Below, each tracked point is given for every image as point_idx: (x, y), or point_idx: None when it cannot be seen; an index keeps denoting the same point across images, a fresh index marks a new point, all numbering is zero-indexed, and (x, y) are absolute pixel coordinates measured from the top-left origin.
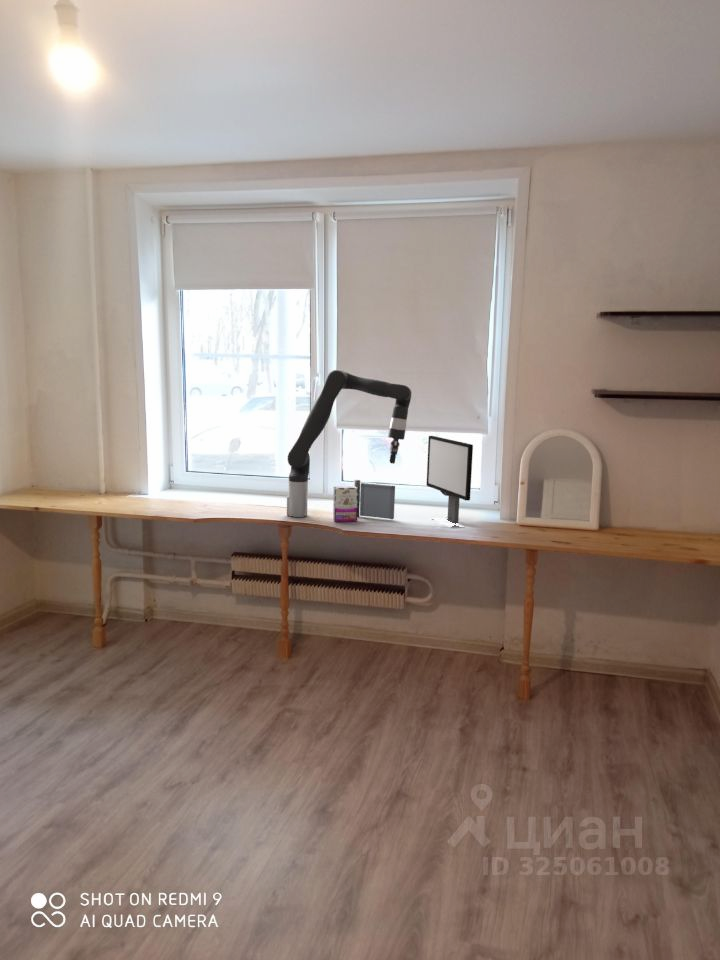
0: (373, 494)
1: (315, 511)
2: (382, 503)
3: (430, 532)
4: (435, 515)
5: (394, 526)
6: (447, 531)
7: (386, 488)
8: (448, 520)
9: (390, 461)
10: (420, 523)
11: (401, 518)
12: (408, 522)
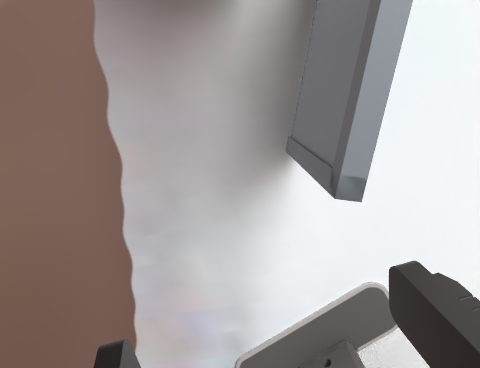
0: (348, 37)
1: None
2: (318, 103)
3: (135, 315)
4: None
5: (181, 176)
6: (176, 361)
7: (341, 138)
8: (334, 347)
9: (98, 364)
10: (274, 260)
11: None
12: (277, 216)
